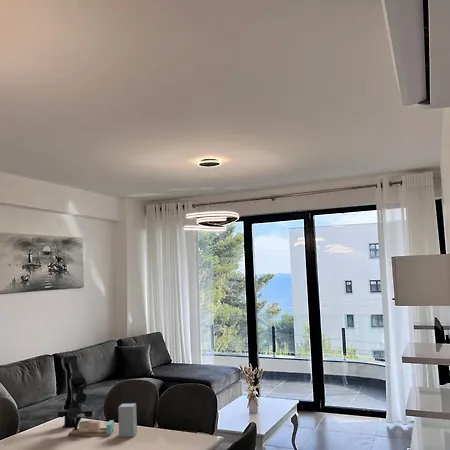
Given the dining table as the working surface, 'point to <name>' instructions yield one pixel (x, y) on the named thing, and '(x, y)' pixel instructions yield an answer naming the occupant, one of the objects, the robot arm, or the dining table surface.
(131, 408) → the skincare box
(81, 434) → the channel
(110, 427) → the teal end stop
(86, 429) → the beige slanted block
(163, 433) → the dining table surface
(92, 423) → the block
